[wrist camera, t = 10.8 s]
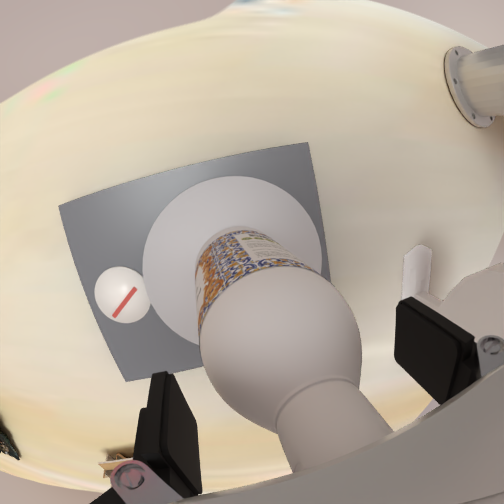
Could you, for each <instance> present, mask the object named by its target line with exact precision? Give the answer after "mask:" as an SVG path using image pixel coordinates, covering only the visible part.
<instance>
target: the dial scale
mask: <svg viewBox="0 0 504 504" xmlns="http://www.w3.org/2000/svg"><path fill="white" fill-rule="evenodd" d="M58 207H59V211H60V215H61V219H62V222H63V226H64V230H65V233H66V237H67V240H68V244H69V247H70V250H71V253H72V257H73V260H74V263H75V266H76V269H77V272H78V275H79V277H80V280H81V283H82V286H83V288H84V291H85V294H86V296H87V299H88V301H89V304H90V307H91V309H92V311H93V314H94V316H95V319H96V321H97V323H98V326H99V328H100V330H101V332H102V335H103V337H104V339H105V341H106V343H107V346H108V348H109V350H110V352H111V354H112V356H113V358H114V360H115V362H116V364H117V366H118V368H119V370H120V372H121V374H122V376H123V377H124V379H125V381H126V382H128V381H134V380H140V379H145V378H151V377H152V374H153V373H157V372H163V371H167V372H168V373H169V374H171V373H176V372H180V371H185V370H189V369H194V368H198V367H202V366H204V365H203V361H202V358H201V355H200V349H199V337H198V323H197V308H196V290H195V264H196V259H197V256H198V254H199V251H200V250H201V248H202V246H203V245H204V244H205V242H206V241H207V240H208V239H209V238H210V237H212V236H213V235H214V234H216V233H217V232H219V231H221V230H224V229H226V228H230V227H237V226H243V227H250V228H253V229H256V230H259V231H261V232H262V233H264V234H266V235H267V236H268V237H270V238H272V239H273V240H274V241H276V242H277V243H278V244H280V245H281V246H283V247H284V248H285V249H287V250H288V251H289V252H291V253H292V254H293V255H295V256H296V257H298V258H299V259H300V260H302V261H303V262H304V263H306V264H307V265H308V266H310V267H311V268H313V269H314V270H315V271H317V272H318V273H319V274H321V275H322V276H323V277H325V278H326V279H327V280H328V281H330V282H331V280H330V272H329V264H328V256H327V249H326V242H325V235H324V228H323V222H322V216H321V209H320V203H319V198H318V192H317V186H316V181H315V175H314V170H313V165H312V160H311V155H310V150H309V145H308V142H305V143H299V144H292V145H286V146H280V147H274V148H268V149H263V150H257V151H252V152H247V153H242V154H237V155H232V156H227V157H223V158H218V159H214V160H209V161H205V162H201V163H196V164H192V165H188V166H184V167H180V168H176V169H172V170H169V171H165V172H161V173H158V174H154V175H150V176H147V177H143V178H140V179H137V180H133V181H130V182H127V183H123V184H120V185H117V186H114V187H111V188H108V189H105V190H101V191H98V192H96V193H93V194H90V195H87V196H84V197H81V198H78V199H75V200H73V201H70V202H67V203H65V204H62V205H59V206H58Z"/></svg>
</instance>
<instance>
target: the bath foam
mask: <svg viewBox="0 0 504 504" xmlns="http://www.w3.org/2000/svg"><path fill="white" fill-rule="evenodd" d="M195 290H196V308H197V323H198V337H199V349H200V355H201V358H202V361H203V365H204V368H205V370H206V373H207V375H208V377H209V379H210V381H211V383H212V385H213V386H214V388H215V390H216V391H217V393H218V394H219V395H220V396H221V397H222V399H223V400H224V401H225V402H226V403H227V404H228V405H229V406H230V407H231V408H232V409H234V410H235V411H236V412H237V413H239V414H240V415H242V416H243V417H245V418H246V419H248V420H250V421H252V422H253V423H255V424H257V425H259V426H261V427H263V428H265V429H268V430H270V431H272V432H274V433H276V434H278V436H279V439H280V442H281V444H282V447H283V450H284V452H285V455H286V457H287V460H288V462H289V465H290V467H291V469H292V472H293V473H295V472H298V471H302V470H305V469H308V468H311V467H314V466H316V465H319V464H322V463H325V462H327V461H330V460H333V459H335V458H338V457H340V456H343V455H345V454H348V453H350V452H353V451H355V450H357V449H359V448H362V447H364V446H366V445H368V444H371V443H373V442H375V441H377V440H379V439H381V438H383V437H385V436H387V435H389V434H391V433H393V432H394V431H393V430H392V429H391V427H390V426H389V425H388V424H387V423H386V421H385V420H384V419H383V418H382V416H381V415H380V414H379V413H378V412H377V410H376V409H375V408H374V407H373V405H372V404H371V403H370V402H369V401H368V399H367V398H366V397H365V396H364V395H363V394H362V393H361V391H360V390H359V385H360V376H361V365H362V346H361V338H360V332H359V328H358V325H357V322H356V319H355V317H354V315H353V313H352V311H351V309H350V307H349V305H348V304H347V302H346V301H345V299H344V298H343V296H342V295H341V294H340V293H339V291H338V290H337V289H336V288H335V287H334V285H333V284H332V283H331V282H330V281H328V280H327V279H326V278H325V277H323V276H322V275H321V274H319V273H318V272H317V271H315V270H314V269H313V268H311V267H310V266H308V265H307V264H306V263H304V262H303V261H302V260H300V259H299V258H298V257H296V256H295V255H293V254H292V253H291V252H289V251H288V250H287V249H285V248H284V247H283V246H281V245H280V244H278V243H277V242H276V241H274V240H273V239H272V238H270V237H268V236H267V235H266V234H264V233H262V232H261V231H259V230H256V229H253V228H250V227H243V226H237V227H230V228H226V229H224V230H221V231H219V232H217V233H216V234H214V235H213V236H212V237H210V238H209V239H208V240H207V241H206V242H205V244H204V245H203V246H202V248H201V250H200V251H199V254H198V256H197V259H196V264H195Z"/></svg>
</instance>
